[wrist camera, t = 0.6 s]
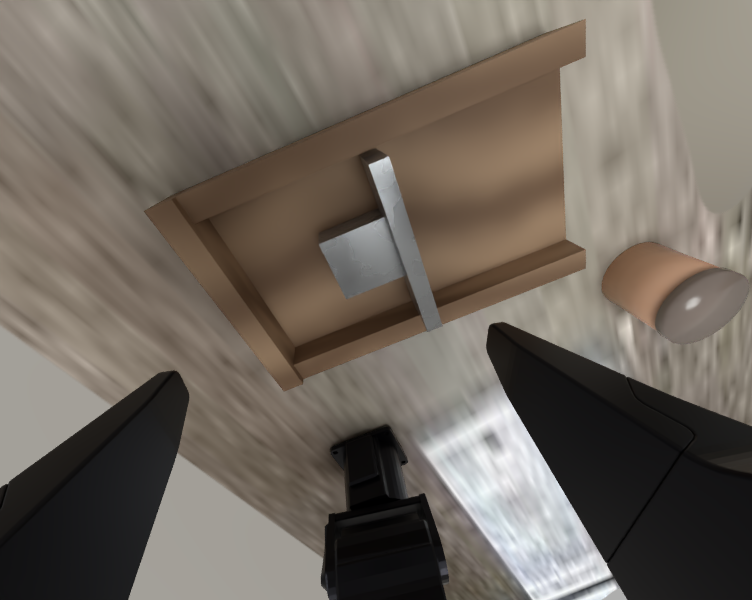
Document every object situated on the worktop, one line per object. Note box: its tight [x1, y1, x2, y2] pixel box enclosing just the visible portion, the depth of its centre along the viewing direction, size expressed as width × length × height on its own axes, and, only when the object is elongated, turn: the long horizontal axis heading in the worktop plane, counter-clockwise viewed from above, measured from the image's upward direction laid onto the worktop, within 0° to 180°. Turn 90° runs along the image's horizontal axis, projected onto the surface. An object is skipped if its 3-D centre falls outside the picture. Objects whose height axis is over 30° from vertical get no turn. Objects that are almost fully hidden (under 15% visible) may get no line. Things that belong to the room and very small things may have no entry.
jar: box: [602, 242, 749, 344], centre depth 25 cm, size 6×6×6 cm
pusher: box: [319, 148, 442, 332], centre depth 19 cm, size 10×5×4 cm, turn 20°
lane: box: [144, 19, 586, 391], centre depth 20 cm, size 14×23×4 cm, turn 110°
